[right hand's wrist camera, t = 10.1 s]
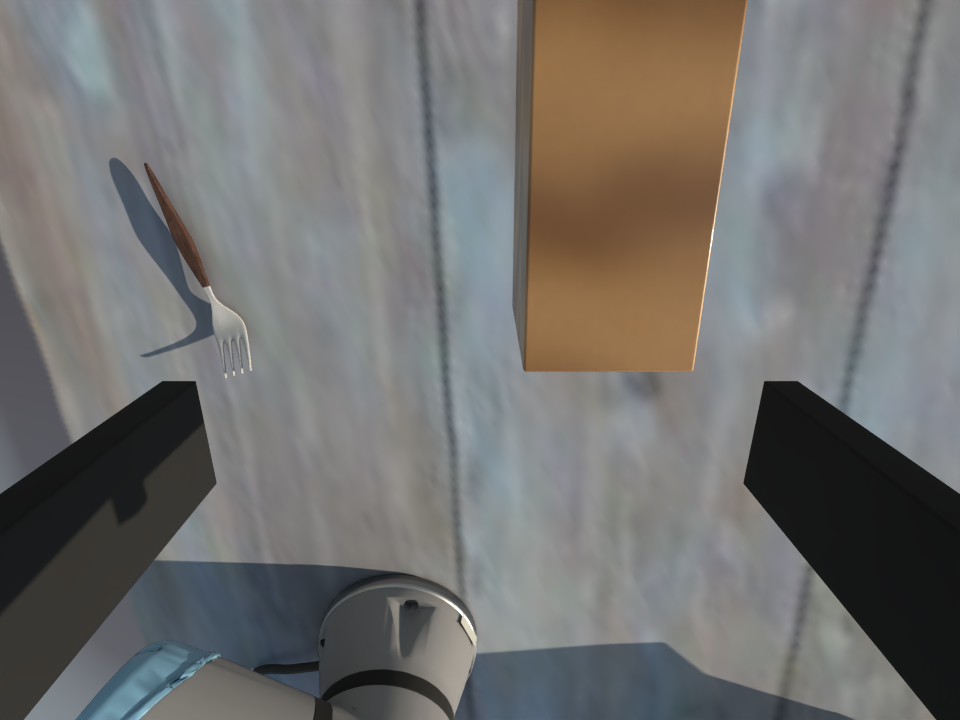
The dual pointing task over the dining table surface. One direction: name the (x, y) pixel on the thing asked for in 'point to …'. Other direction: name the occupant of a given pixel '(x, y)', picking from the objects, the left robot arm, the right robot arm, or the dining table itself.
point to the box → (618, 177)
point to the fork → (204, 282)
